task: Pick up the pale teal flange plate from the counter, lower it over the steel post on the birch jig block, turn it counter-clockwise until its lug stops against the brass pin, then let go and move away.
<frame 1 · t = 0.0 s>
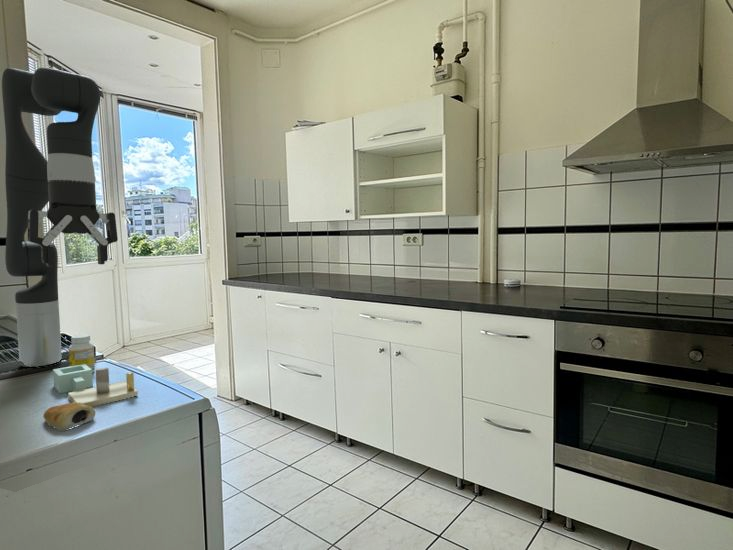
hand: (76, 265, 84), 29 cm above the appliance top, tool pointing down, fingers open, 8 cm apart
jig: (103, 397, 94), on the appliance top
supplement bottle: (82, 373, 110), on the appliance top
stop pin: (130, 395, 95), resting on jig
flange plate: (78, 392, 97), on the appliance top
pastry: (68, 424, 81), on the appliance top
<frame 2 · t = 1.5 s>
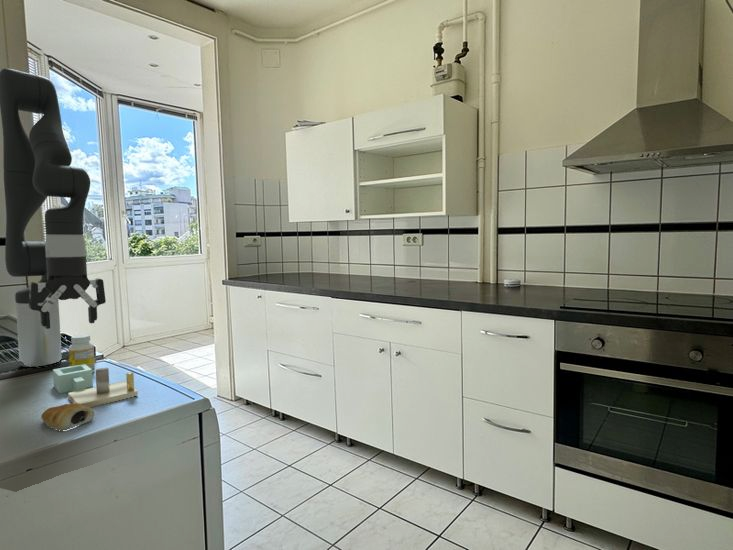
hand: (70, 325, 99), 14 cm above the appliance top, tool pointing down, fingers open, 8 cm apart
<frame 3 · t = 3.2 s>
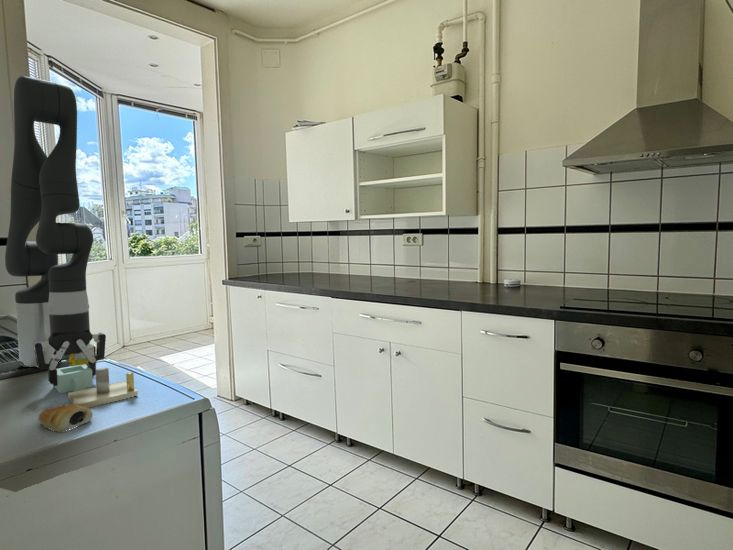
hand: (73, 381, 100), 1 cm above the appliance top, tool pointing down, fingers closed on flange plate, 6 cm apart
flange plate: (78, 392, 97), on the appliance top, touching gripper
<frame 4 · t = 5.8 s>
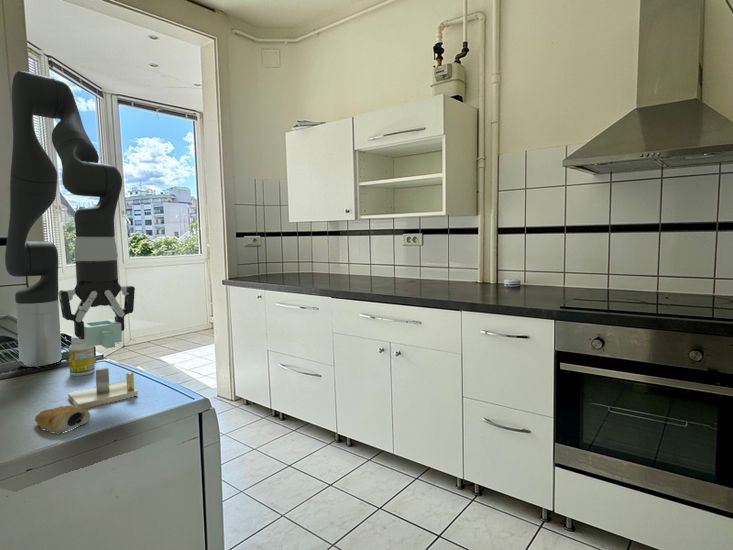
hand: (100, 335, 93), 14 cm above the appliance top, tool pointing down, fingers closed on flange plate, 6 cm apart
flange plate: (107, 346, 89), point 12 cm above the appliance top, touching gripper
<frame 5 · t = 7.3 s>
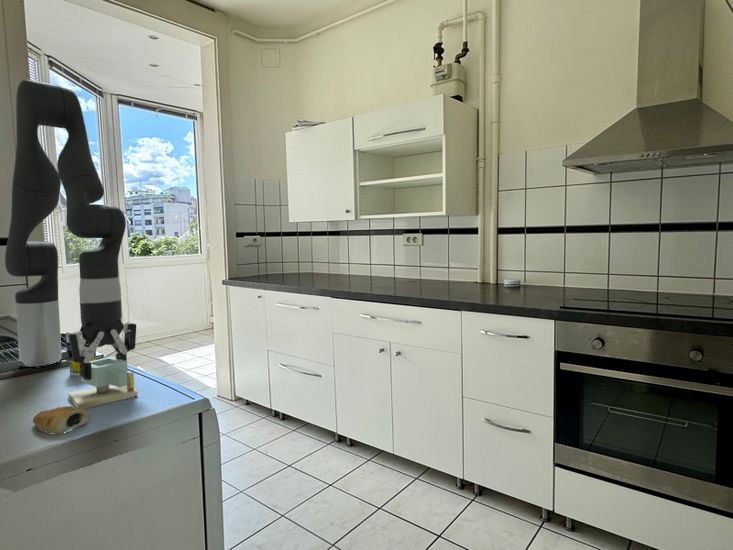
hand: (104, 374, 94), 5 cm above the appliance top, tool pointing down, fingers closed on flange plate, 6 cm apart
flange plate: (118, 384, 91), point 4 cm above the appliance top, touching gripper
when the fingers open (3 cm above the appliance top, at t = 8.4 s): flange plate stays where it is, resting on jig.
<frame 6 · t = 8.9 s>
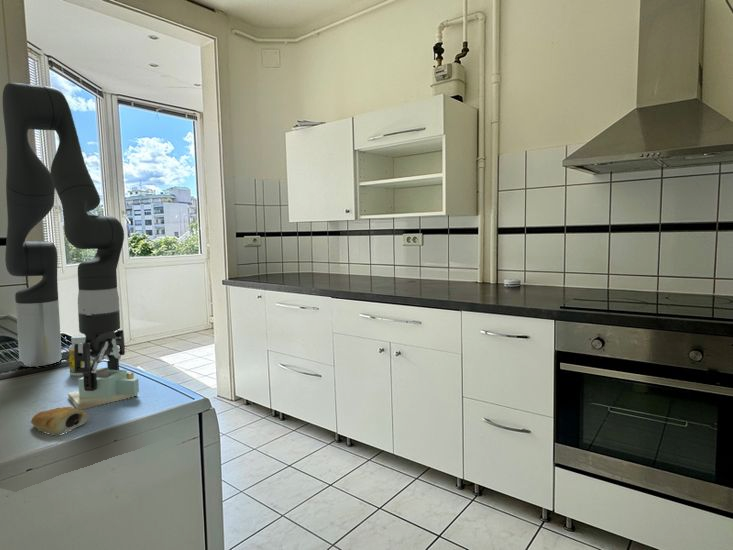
hand: (102, 383, 94), 3 cm above the appliance top, tool pointing down, fingers open, 8 cm apart
flange plate: (127, 392, 93), point 1 cm above the appliance top, touching jig
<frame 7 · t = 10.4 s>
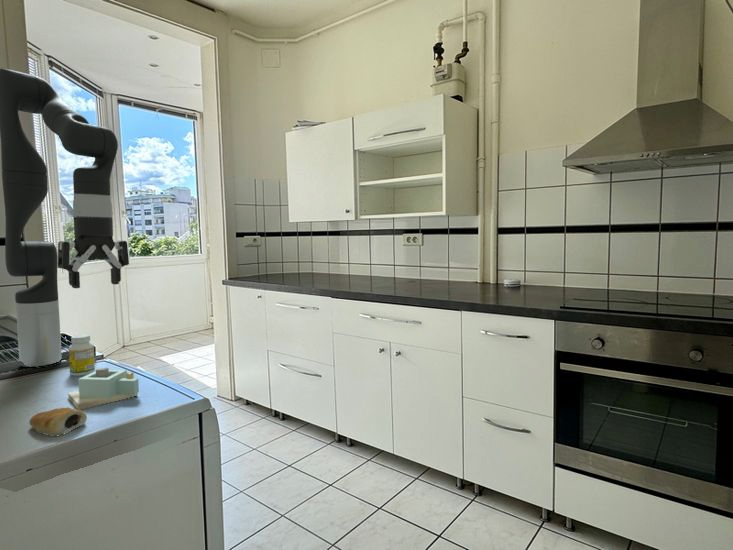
hand: (96, 286, 100), 23 cm above the appliance top, tool pointing down, fingers open, 8 cm apart
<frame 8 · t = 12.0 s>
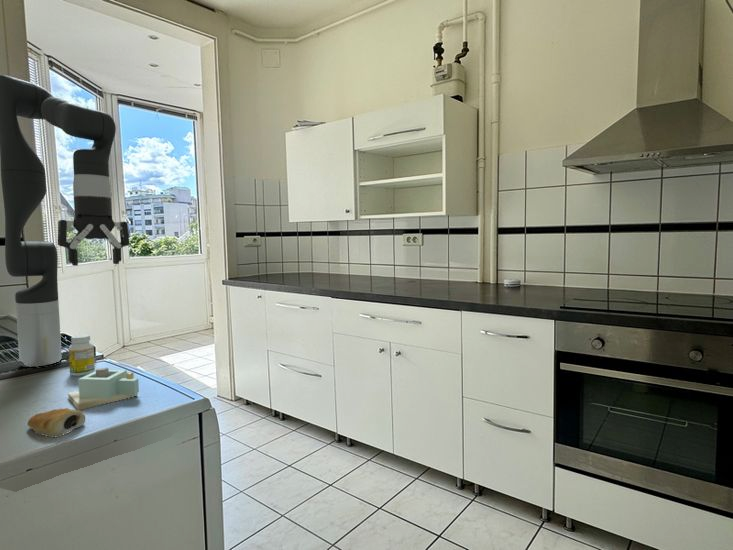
hand: (96, 264, 103), 28 cm above the appliance top, tool pointing down, fingers open, 8 cm apart
at the end: flange plate 0.4 cm from the target spot on the jig, point 1.2 cm above the jig's base; flange plate 1.6 cm from the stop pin (horizontally) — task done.
